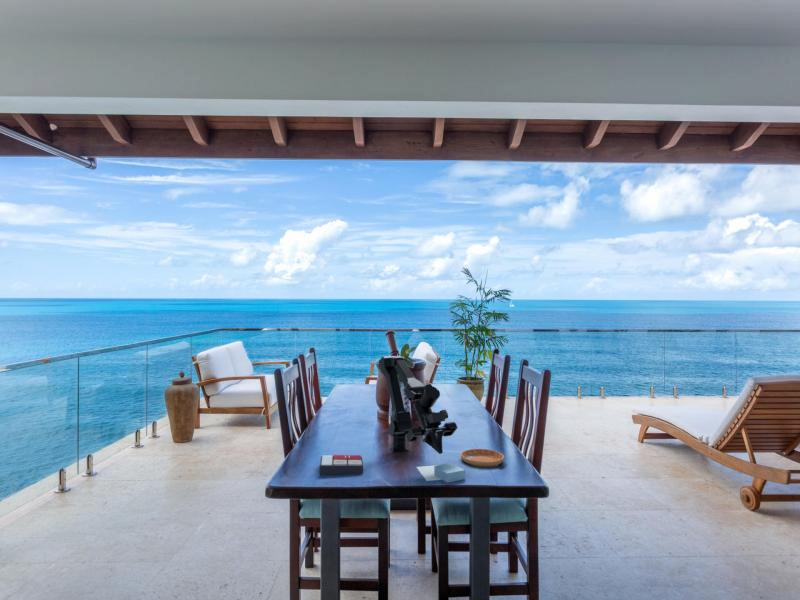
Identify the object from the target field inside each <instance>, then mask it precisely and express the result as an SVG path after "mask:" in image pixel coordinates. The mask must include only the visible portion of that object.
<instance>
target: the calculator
mask: <svg viewBox="0 0 800 600" xmlns="http://www.w3.org/2000/svg"><path fill="white" fill-rule="evenodd" d="M362 473H363V474H364V461H363V457H362V456H361V455H360V454H359V455H358V454H348V455H347V454H334V455H324V454H323V455H321V456H320V461H319V475H327V476H333V475H335V476H337V475H339V476H340V475H344V476H345V475H346V476H347V475H363V474H362Z"/></svg>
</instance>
